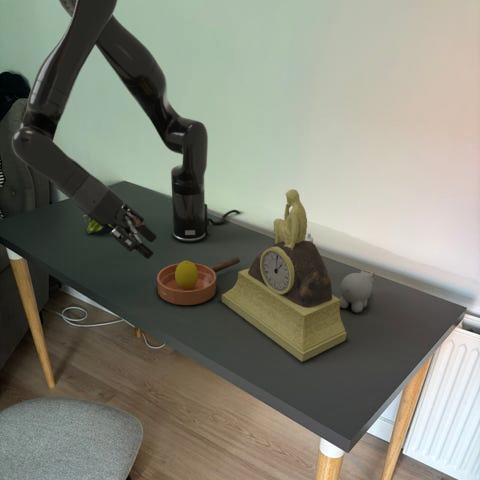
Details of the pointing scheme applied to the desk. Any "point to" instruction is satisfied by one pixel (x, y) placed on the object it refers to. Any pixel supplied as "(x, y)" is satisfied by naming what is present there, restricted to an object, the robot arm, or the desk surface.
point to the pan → (181, 296)
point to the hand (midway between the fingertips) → (152, 247)
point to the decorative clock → (290, 290)
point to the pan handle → (225, 264)
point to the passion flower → (93, 225)
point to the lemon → (186, 275)
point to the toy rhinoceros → (356, 290)
